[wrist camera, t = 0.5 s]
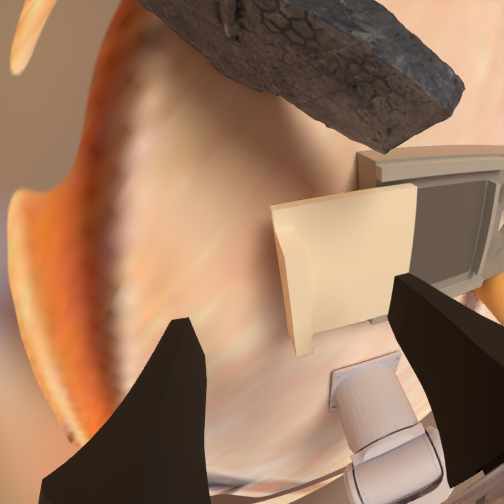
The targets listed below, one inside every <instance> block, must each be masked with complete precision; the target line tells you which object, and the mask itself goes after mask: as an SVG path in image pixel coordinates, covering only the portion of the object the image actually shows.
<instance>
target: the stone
mask: <svg viewBox="0 0 504 504" xmlns="http://www.w3.org/2000/svg"><path fill="white" fill-rule="evenodd" d="M137 1H138V2H139V3H140V4H141V5H142V6H143V7H144V8H145V9H146V10H148V11H150V12H152V13H154V14H155V15H157V16H158V17H159V18H160V19H161V20H163V21H164V22H165V23H166V24H167V25H168V26H169V27H170V28H172V29H173V30H174V31H175V32H176V33H177V34H178V35H179V36H181V37H182V38H183V39H184V40H185V41H187V42H188V43H189V44H191V45H192V46H193V47H194V48H196V49H197V50H198V51H200V52H202V53H204V54H205V56H206V57H207V58H208V59H209V60H210V61H211V62H212V64H213V66H214V67H215V68H216V69H217V70H218V71H220V72H221V73H222V74H224V75H225V76H227V77H229V78H230V79H232V80H234V81H236V82H240V83H244V84H246V85H248V86H249V87H251V88H253V89H255V90H257V91H260V92H263V91H266V92H270V93H274V94H275V95H276V96H281V97H283V98H285V99H286V100H287V101H288V102H290V103H292V104H294V105H295V106H296V107H297V108H298V109H300V110H302V111H303V112H305V113H306V114H307V115H308V116H310V117H311V118H313V119H314V120H317V121H320V122H322V123H324V124H325V125H326V127H328V128H332V129H334V130H336V131H338V132H340V133H341V134H343V135H344V136H346V137H347V138H349V139H350V140H353V141H356V142H359V143H362V144H364V145H366V146H368V147H370V148H371V149H373V150H375V151H377V152H379V153H382V154H383V155H385V154H387V153H388V152H389V151H390V150H391V149H393V148H395V147H397V146H399V145H400V144H402V143H403V142H405V141H407V140H408V139H410V138H411V137H413V136H414V135H417V134H419V133H421V132H422V131H424V130H426V129H428V128H429V127H431V126H433V125H435V124H436V123H439V122H442V121H445V120H446V119H448V118H449V117H451V116H452V114H453V111H454V109H455V108H456V107H457V105H458V103H459V102H460V99H461V97H462V93H463V91H464V90H465V87H464V83H463V81H462V80H461V79H460V77H459V76H458V75H456V74H455V72H454V71H453V69H452V68H451V67H450V66H449V65H448V64H447V63H445V62H443V61H442V60H441V59H440V58H439V57H438V56H437V55H436V54H435V53H434V52H433V51H432V50H431V49H429V48H428V47H427V46H426V45H425V44H423V43H422V41H421V40H420V39H419V38H418V37H417V36H416V35H414V34H413V33H411V32H410V31H409V30H407V29H406V28H405V27H404V25H403V24H401V23H400V22H399V21H398V20H397V18H396V17H395V16H394V14H392V13H391V12H390V11H388V10H387V9H386V8H385V7H384V6H383V5H381V4H380V3H378V2H376V1H375V0H137Z"/></svg>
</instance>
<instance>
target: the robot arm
mask: <svg viewBox="0 0 504 504" xmlns="http://www.w3.org/2000/svg"><path fill="white" fill-rule="evenodd" d="M387 318H388V321H389V323H390V326H391V328H392V331H393V333H394V335H395V338H396V340H397V342H398V344H399V345H400V347H401V349H402V351H403V352H404V354H405V356H406V358H407V360H408V361H409V363H410V365H411V367H412V368H413V370H414V372H415V374H416V376H417V377H418V379H419V381H420V383H421V385H422V387H423V389H424V391H425V393H426V396H427V398H428V401H429V404H430V406H431V409H432V412H433V415H434V418H435V421H436V425H437V428H438V430H437V429H436V428H433V427H431V426H428V427H427V428H425V429H424V428H423V426H422V423H419V422H418V420H417V418H416V415H415V413H414V411H413V409H412V407H411V405H410V402H409V400H408V398H407V396H406V394H405V392H404V390H403V388H402V386H401V384H400V382H399V380H398V378H397V376H396V374H395V372H396V369H397V366H398V363H399V360H400V357H401V352H400V351H396V352H394V353H391V354H388V355H385V356H382V357H379V358H376V359H372V360H369V361H366V362H363V363H359V364H356V365H353V366H349V367H346V368H342V369H338V370H335V371H334V372H333V373H332V383H331V396H330V407H329V410H330V412H335V411H338V413H339V416H340V419H341V422H342V425H343V429H344V432H345V435H346V439H347V442H348V445H349V447H350V449H351V450H352V452H353V453H354V455H351V459H352V463H350V464H348V465H347V468H346V470H345V472H344V482H345V487H346V491H347V494H348V497H349V500H350V502H351V504H389V503H392V502H394V501H396V500H399V499H401V498H403V497H405V496H408V495H410V494H412V493H414V492H416V491H419V490H421V489H423V488H425V487H427V486H429V485H431V484H432V483H433V484H432V485H431V486H429V487H428V488H426V489H424V490H421V491H419V492H417V493H415V494H413V495H411V496H409V497H407V498H404V499H402V500H400V501H397V502H395V503H393V504H472V503H474V502H475V504H504V326H502V325H500V324H498V323H496V322H494V321H492V320H490V319H488V318H486V317H484V316H482V315H480V314H478V313H477V312H475V311H473V310H471V309H469V308H468V307H466V306H464V305H462V304H461V303H459V302H457V301H456V300H454V299H452V298H451V297H449V296H448V295H446V294H444V293H443V292H441V291H439V290H438V289H436V288H435V287H433V286H431V285H430V284H428V283H426V282H425V281H423V280H421V279H420V278H418V277H416V276H414V275H412V274H410V273H405V274H401V275H397V276H395V277H394V283H393V289H392V295H391V301H390V306H389V311H388V316H387ZM206 388H207V377H206V362H205V355H204V352H203V350H202V348H201V345H200V343H199V341H198V338H197V336H196V334H195V331H194V329H193V326H192V324H191V322H190V319H189V317H188V318H181V319H174V320H171V322H170V323H169V325H168V327H167V329H166V330H165V332H164V334H163V336H162V338H161V339H160V341H159V343H158V345H157V347H156V348H155V350H154V352H153V354H152V355H151V357H150V359H149V361H148V362H147V364H146V366H145V367H144V369H143V371H142V372H141V374H140V376H139V377H138V379H137V380H136V382H135V383H134V385H133V386H132V388H131V389H130V391H129V393H128V394H127V395H126V397H125V398H124V400H123V401H122V402H121V404H120V405H119V407H118V408H117V409H116V410H115V412H114V413H113V414H112V416H111V417H110V418H109V419H108V420H107V422H106V423H105V424H104V425H103V426H102V427H101V428H100V429H99V431H98V432H97V433H96V434H95V435H94V436H93V437H92V438H91V439H90V440H89V441H88V442H87V443H86V444H85V445H84V446H83V447H82V448H81V449H80V450H79V451H78V452H77V453H76V454H75V455H74V456H73V457H71V458H70V459H69V460H68V461H67V462H65V463H64V464H63V465H61V466H60V467H59V468H57V469H56V470H55V471H53V472H52V473H51V474H50V475H48V476H47V477H45V478H44V479H43V480H42V484H41V490H40V496H39V503H38V504H211V501H210V495H209V488H208V480H207V472H206V462H205V450H204V428H205V407H206ZM481 470H483V472H484V474H485V476H484V477H482V478H481V479H479V480H478V481H476V482H475V483H473V484H472V485H470V486H469V487H467V488H466V489H464V490H462V491H461V492H459V493H457V494H456V495H454V496H452V497H451V498H449V499H447V498H448V496H449V495H450V494H451V492H452V491H453V489H454V487H455V486H456V485H458V484H460V483H462V482H464V481H465V480H467V479H469V478H470V477H472V476H474V475H475V474H477V473H479V472H480V471H481Z"/></svg>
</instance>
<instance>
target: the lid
mask: <svg viewBox="0 0 504 504" xmlns="http://www.w3.org/2000/svg"><path fill="white" fill-rule="evenodd" d="M416 203H417V186H415V185H413V184H412V183H407V184H399V185H392V186H385V187H378V188H371V189H365V190H358V191H352V192H345V193H339V194H333V195H327V196H321V197H315V198H309V199H304V200H298V201H293V202H287V203H282V204H276V205H271V206H270V211H271V217H272V224H273V230H274V237H275V243H276V250H277V256H278V263H279V270H280V277H281V284H282V291H283V298H284V305H285V312H286V319H287V327H288V333H289V337H290V339H292V342H293V346H294V350H295V354H296V358H297V357H301V356H306V355H310V354H313V336H312V334H315V333H319V332H323V331H327V330H331V329H335V328H339V327H343V326H347V325H351V324H354V323H358V322H362V321H365V320H369V319H372V318H376V317H379V316H382V315H386V314H388V311H389V306H390V301H391V295H392V289H393V283H394V277H395V276H397V275H401V274H405V273H409V266H410V260H411V253H412V245H413V236H414V227H415V216H416Z"/></svg>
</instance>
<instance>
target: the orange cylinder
mask: <svg viewBox="0 0 504 504" xmlns="http://www.w3.org/2000/svg"><path fill="white" fill-rule="evenodd" d="M472 291H473V292H474V294H475V295H476V296H477V297H478V298H479V299H480V300H481V301H482V302H483V304H484V305H485V306H486V307H487V308H488V309H489V310H490V312H491V313H492V314H493V315H494V316H495V317H496V319H497V320H498V321H499V322H500V323H501V325H502V326H504V272H502V273H500V274H498V275H496V276H493V277H491V278H489V279H486V280H484V281H483V284H482V286H481V287H478V288H476V289H474V290H472Z"/></svg>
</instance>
